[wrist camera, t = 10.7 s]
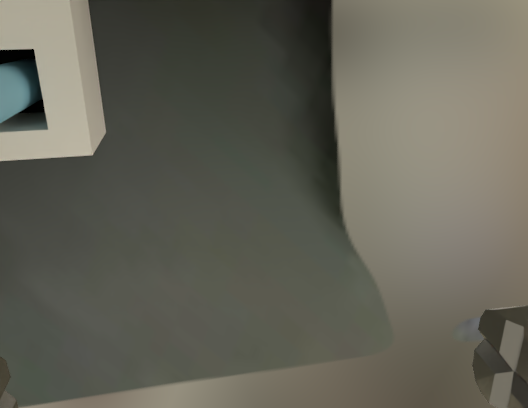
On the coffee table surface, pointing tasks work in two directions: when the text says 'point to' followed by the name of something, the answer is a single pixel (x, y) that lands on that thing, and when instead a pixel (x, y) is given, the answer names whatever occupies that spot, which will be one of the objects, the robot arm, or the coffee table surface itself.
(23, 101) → the pin
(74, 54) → the white cinder block
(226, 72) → the coffee table surface
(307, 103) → the coffee table surface
